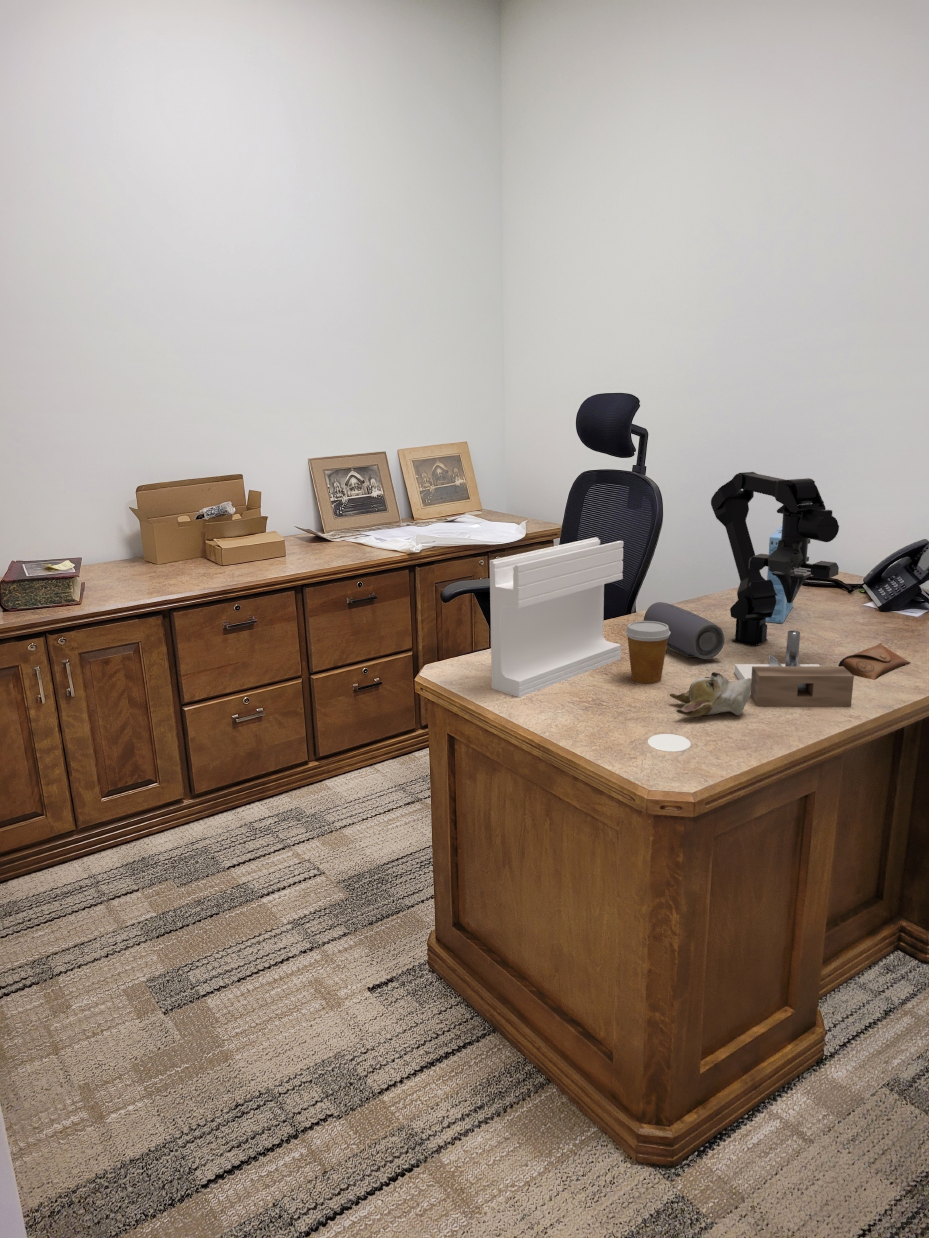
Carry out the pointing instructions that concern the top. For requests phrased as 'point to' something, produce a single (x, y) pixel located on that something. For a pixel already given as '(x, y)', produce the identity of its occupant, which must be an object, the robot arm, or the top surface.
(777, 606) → the light blue flat box
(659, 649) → the disposable coffee cup
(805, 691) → the door jamb
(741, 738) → the top surface
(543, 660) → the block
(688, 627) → the bluetooth speaker
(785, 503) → the robot arm
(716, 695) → the ceramic sculpture
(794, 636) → the bolt
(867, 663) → the sunglasses case
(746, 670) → the door panel
